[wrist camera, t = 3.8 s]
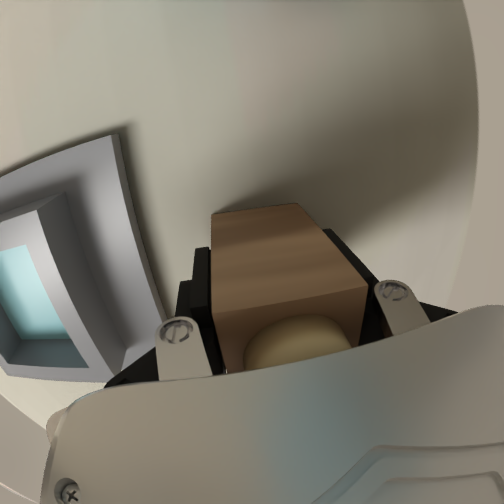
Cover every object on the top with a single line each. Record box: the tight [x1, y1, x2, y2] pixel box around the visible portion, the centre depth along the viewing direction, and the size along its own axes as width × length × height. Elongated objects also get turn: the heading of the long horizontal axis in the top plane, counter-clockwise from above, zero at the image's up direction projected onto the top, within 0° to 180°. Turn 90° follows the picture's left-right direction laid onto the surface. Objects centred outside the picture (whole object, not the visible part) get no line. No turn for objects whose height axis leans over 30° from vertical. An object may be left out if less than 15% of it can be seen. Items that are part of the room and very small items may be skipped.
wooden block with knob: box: [211, 203, 368, 373], centre depth 10 cm, size 4×4×8 cm
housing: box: [0, 134, 167, 383], centre depth 11 cm, size 13×15×4 cm
